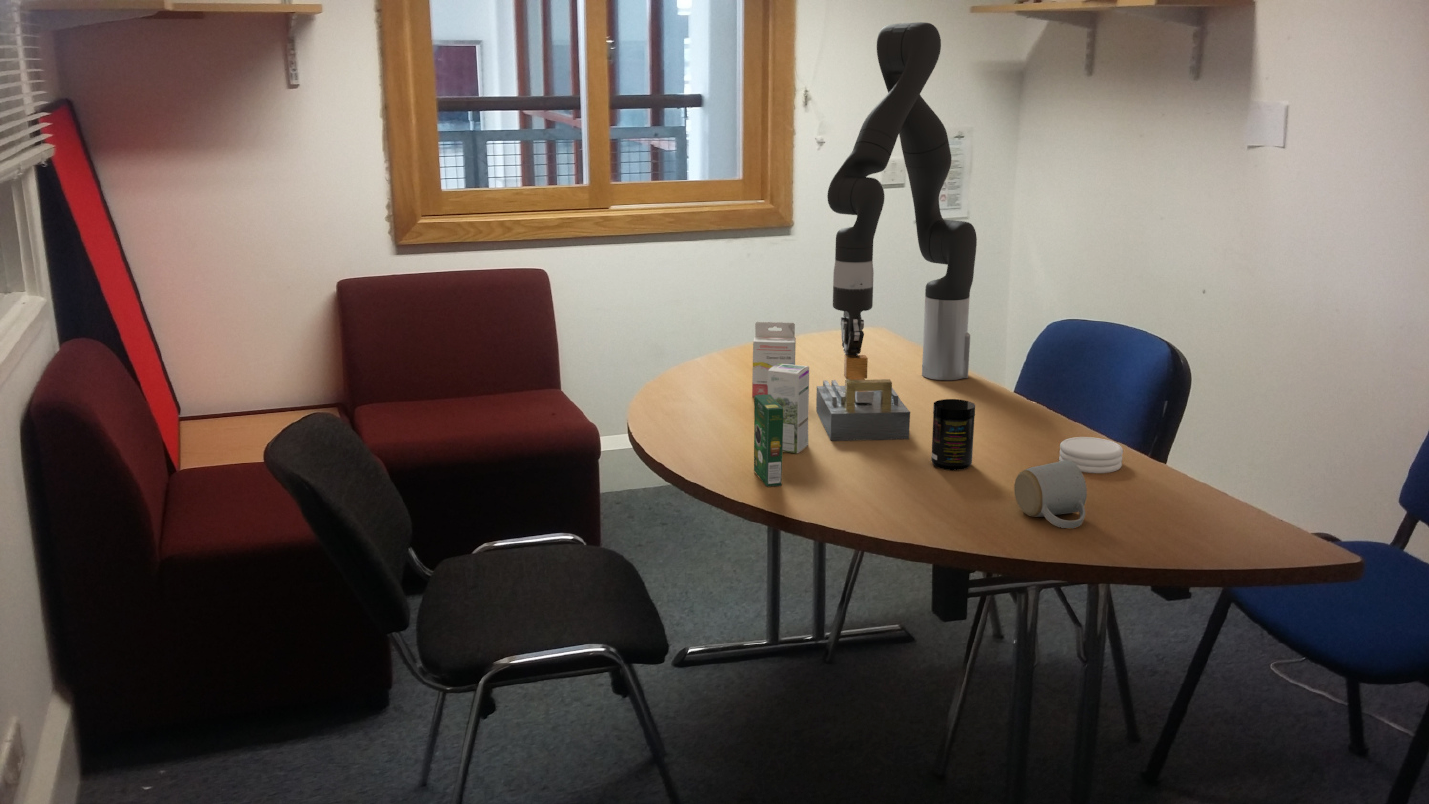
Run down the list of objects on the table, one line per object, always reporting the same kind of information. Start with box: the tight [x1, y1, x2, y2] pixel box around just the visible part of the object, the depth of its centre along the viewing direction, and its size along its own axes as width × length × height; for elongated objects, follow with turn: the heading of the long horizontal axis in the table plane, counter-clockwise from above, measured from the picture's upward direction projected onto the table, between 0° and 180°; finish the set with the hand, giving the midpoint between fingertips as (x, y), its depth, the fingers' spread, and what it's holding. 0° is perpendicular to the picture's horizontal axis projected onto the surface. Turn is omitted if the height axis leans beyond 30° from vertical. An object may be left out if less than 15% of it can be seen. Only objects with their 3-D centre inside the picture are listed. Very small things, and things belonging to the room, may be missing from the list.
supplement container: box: [930, 398, 976, 471], centre depth 191 cm, size 7×7×10 cm
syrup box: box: [768, 363, 810, 454], centre depth 200 cm, size 6×6×14 cm
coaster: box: [1058, 436, 1124, 474], centre depth 193 cm, size 10×10×4 cm
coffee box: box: [753, 395, 784, 488], centre depth 185 cm, size 8×3×13 cm, turn 13°
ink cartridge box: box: [751, 321, 797, 398], centre depth 234 cm, size 9×5×15 cm, turn 84°
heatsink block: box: [815, 378, 911, 442], centre depth 214 cm, size 14×19×10 cm
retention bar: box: [843, 354, 874, 403], centre depth 215 cm, size 4×12×6 cm, turn 3°
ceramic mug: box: [1013, 460, 1088, 529], centre depth 169 cm, size 11×8×8 cm
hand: (850, 372), depth 224 cm, fingers closed
